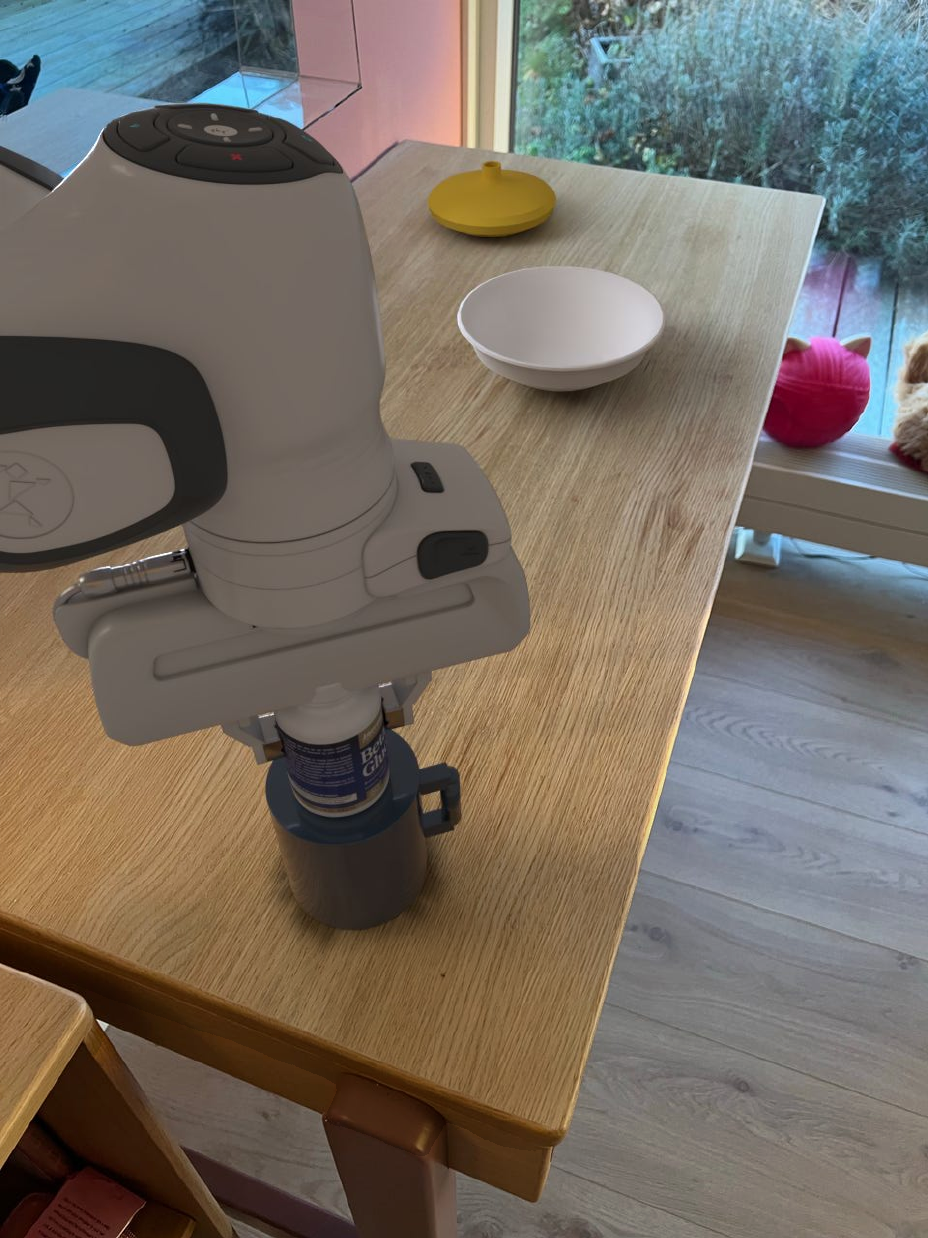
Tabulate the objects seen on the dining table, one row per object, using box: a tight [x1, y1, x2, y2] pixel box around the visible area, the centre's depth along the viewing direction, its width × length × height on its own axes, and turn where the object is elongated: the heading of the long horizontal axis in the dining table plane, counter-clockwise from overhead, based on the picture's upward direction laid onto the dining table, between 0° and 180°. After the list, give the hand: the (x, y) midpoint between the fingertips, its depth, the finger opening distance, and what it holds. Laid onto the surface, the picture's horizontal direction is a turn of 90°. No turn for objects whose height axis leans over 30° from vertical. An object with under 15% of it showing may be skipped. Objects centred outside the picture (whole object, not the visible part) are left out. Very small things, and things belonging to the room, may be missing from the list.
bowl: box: [456, 265, 667, 392], centre depth 97 cm, size 20×20×6 cm
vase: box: [427, 160, 557, 238], centre depth 122 cm, size 16×16×7 cm
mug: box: [264, 728, 462, 931], centre depth 58 cm, size 11×8×9 cm
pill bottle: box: [273, 683, 389, 817], centre depth 51 cm, size 5×5×10 cm
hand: (334, 734), depth 52 cm, fingers closed on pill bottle, 5 cm apart
